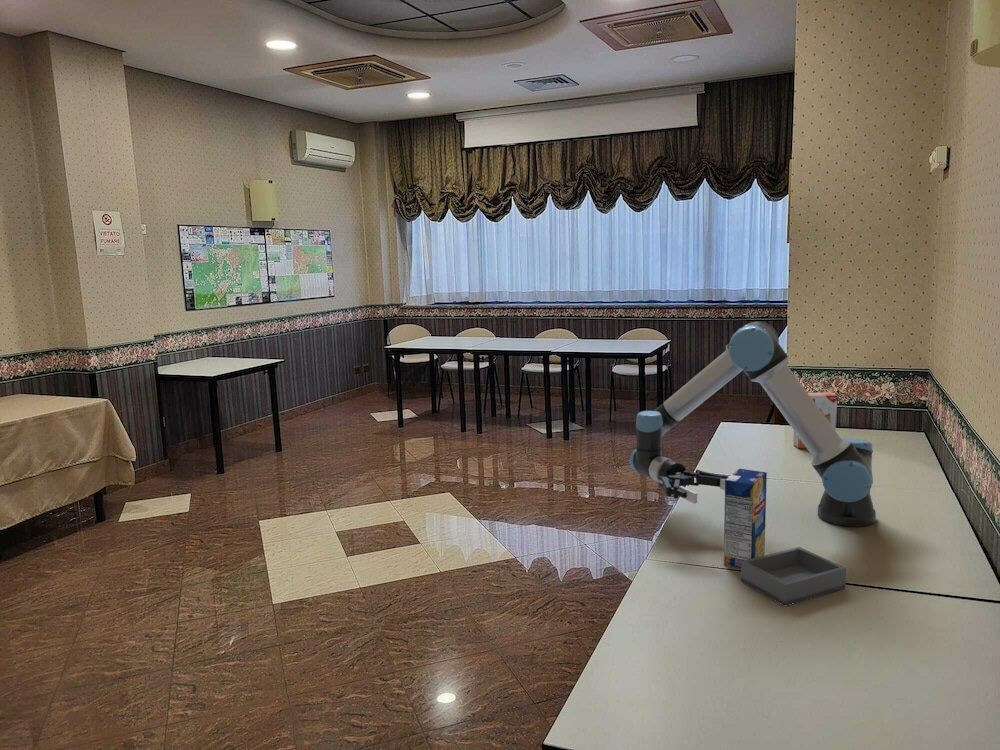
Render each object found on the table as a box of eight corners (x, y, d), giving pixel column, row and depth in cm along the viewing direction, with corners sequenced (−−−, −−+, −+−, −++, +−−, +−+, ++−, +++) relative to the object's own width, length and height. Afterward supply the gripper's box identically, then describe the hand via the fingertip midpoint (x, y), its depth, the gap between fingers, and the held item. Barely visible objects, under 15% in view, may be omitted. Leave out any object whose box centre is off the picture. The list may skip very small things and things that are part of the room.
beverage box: (723, 564, 186) (725, 480, 182) (737, 549, 194) (739, 468, 191) (751, 570, 182) (753, 484, 178) (764, 555, 190) (766, 472, 187)
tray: (798, 566, 183) (799, 546, 182) (845, 588, 171) (846, 568, 170) (740, 581, 176) (741, 561, 175) (784, 606, 164) (785, 584, 163)
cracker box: (798, 449, 283) (800, 395, 280) (792, 445, 289) (794, 392, 286) (835, 448, 283) (838, 394, 279) (829, 444, 289) (831, 391, 285)
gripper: (703, 478, 220) (753, 500, 200) (631, 491, 210) (677, 515, 191) (703, 454, 218) (754, 473, 199) (631, 466, 209) (678, 487, 189)
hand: (717, 494), depth 195 cm, fingers open, 13 cm apart
